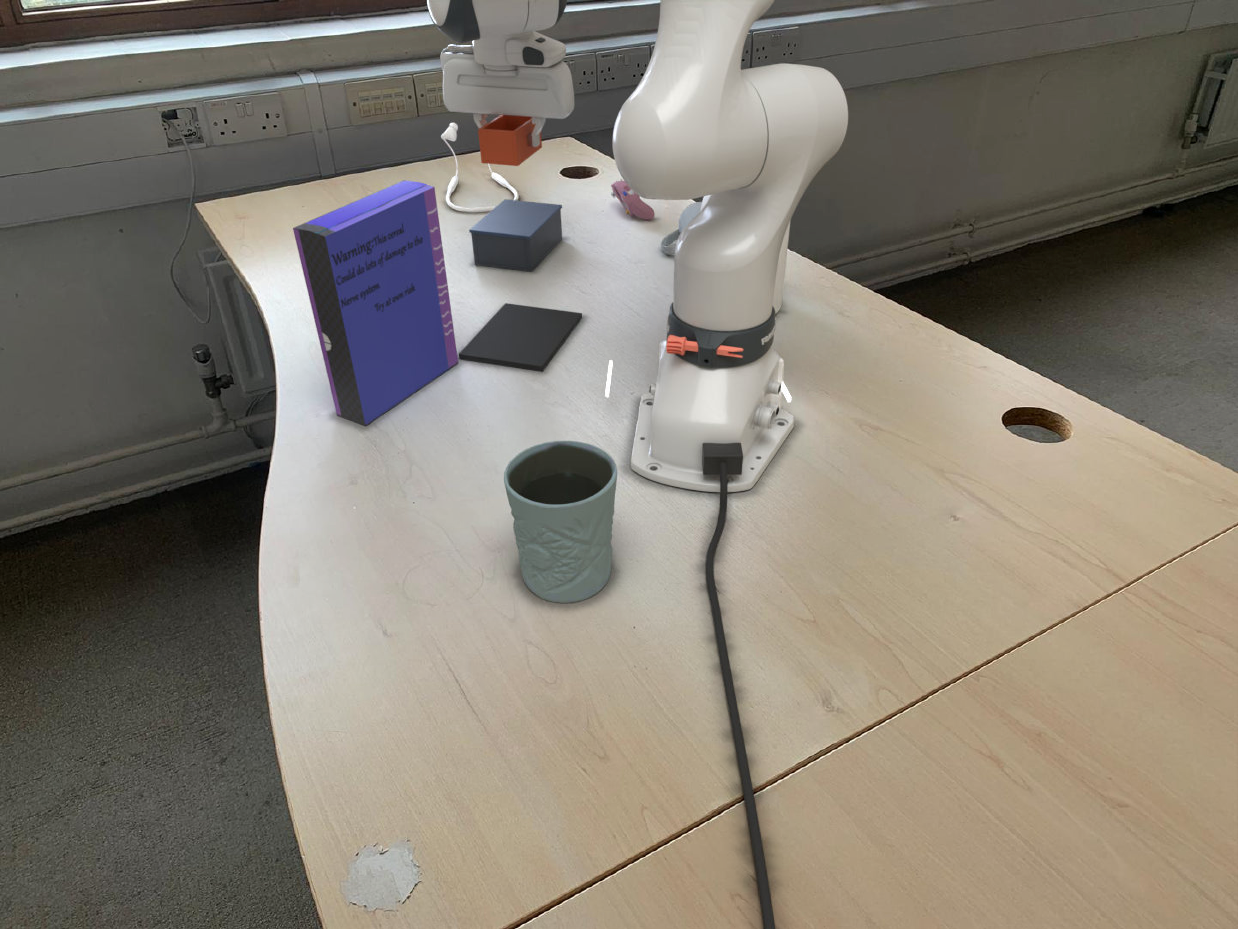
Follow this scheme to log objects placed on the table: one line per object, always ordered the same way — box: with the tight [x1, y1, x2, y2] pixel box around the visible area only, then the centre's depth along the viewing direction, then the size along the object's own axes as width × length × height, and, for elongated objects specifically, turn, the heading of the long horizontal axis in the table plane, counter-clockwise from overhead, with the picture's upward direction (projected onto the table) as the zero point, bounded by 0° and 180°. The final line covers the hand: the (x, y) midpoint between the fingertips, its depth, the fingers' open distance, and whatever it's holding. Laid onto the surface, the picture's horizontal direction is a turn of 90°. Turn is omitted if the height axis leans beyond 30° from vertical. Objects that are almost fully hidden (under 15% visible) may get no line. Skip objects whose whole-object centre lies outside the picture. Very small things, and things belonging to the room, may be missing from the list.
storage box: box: [468, 198, 563, 272], centre depth 148 cm, size 14×10×6 cm
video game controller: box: [610, 178, 655, 221], centre depth 162 cm, size 10×5×7 cm, turn 17°
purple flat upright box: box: [292, 179, 459, 427], centre depth 108 cm, size 17×5×24 cm, turn 149°
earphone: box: [440, 122, 519, 213], centre depth 170 cm, size 14×17×18 cm
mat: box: [458, 302, 583, 372], centre depth 125 cm, size 16×12×1 cm
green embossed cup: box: [503, 440, 618, 604], centre depth 83 cm, size 10×10×12 cm
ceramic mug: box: [660, 201, 702, 256], centre depth 147 cm, size 11×8×8 cm
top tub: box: [477, 115, 543, 167], centre depth 138 cm, size 10×6×5 cm, turn 163°
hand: (511, 144), depth 139 cm, fingers closed on top tub, 6 cm apart
